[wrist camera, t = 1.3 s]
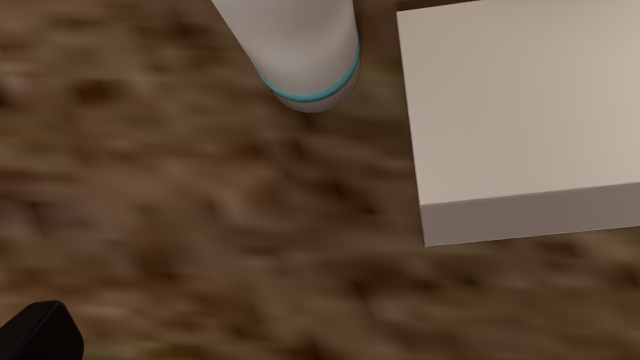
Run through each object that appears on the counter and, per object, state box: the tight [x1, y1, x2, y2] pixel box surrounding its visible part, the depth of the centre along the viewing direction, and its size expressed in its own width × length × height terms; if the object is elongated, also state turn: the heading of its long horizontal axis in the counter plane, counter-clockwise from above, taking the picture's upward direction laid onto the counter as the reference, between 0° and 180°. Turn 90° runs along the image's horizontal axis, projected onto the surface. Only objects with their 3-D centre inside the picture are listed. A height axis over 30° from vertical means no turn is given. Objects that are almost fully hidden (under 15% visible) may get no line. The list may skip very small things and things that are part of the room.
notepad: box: [396, 0, 640, 247], centre depth 21 cm, size 9×9×1 cm
